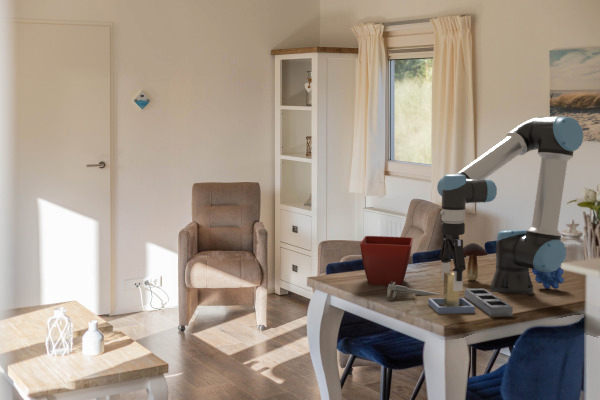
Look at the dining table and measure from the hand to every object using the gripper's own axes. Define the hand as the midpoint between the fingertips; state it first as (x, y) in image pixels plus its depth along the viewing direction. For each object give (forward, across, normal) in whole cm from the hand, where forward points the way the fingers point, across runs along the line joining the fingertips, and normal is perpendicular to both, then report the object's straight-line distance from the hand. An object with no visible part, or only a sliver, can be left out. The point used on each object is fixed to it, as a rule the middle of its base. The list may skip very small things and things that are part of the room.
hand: (451, 286), depth 231 cm
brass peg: (+8, 0, 0) cm, 8 cm away
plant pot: (+9, -45, -12) cm, 47 cm away
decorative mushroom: (+9, -46, +23) cm, 52 cm away
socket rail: (+8, -2, +13) cm, 16 cm away
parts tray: (+8, 0, 0) cm, 8 cm away
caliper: (+9, -20, -7) cm, 23 cm away
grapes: (+9, -29, +46) cm, 55 cm away
